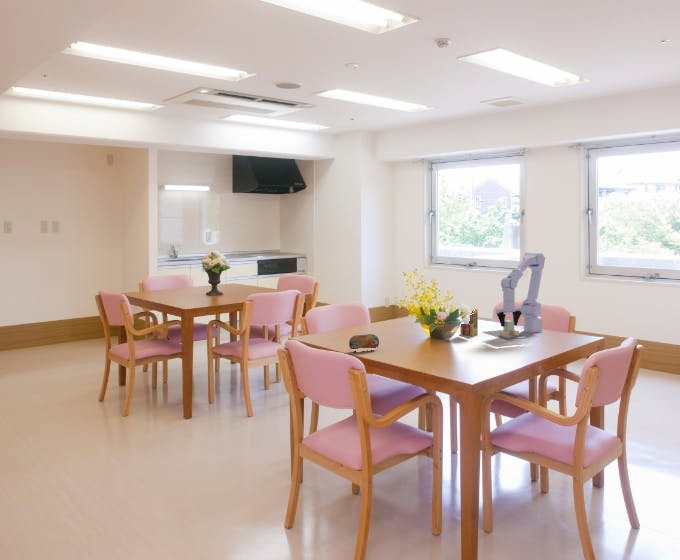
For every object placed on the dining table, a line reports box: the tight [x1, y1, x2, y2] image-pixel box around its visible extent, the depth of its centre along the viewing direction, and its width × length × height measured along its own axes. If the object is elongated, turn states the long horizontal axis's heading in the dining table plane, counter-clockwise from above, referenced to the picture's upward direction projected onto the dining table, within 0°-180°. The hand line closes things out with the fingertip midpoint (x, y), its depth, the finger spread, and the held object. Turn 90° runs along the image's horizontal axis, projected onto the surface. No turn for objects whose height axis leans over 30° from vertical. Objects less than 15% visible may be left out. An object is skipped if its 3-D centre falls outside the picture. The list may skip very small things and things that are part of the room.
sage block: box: [502, 319, 515, 331], centre depth 314 cm, size 4×4×5 cm
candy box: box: [459, 308, 479, 337], centre depth 321 cm, size 9×4×15 cm, turn 39°
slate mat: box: [482, 329, 530, 341], centre depth 319 cm, size 14×25×1 cm, turn 17°
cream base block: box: [499, 329, 520, 338], centre depth 315 cm, size 7×7×3 cm
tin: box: [348, 333, 380, 350], centre depth 292 cm, size 15×3×8 cm, turn 105°
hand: (509, 325), depth 314 cm, fingers open, 7 cm apart
